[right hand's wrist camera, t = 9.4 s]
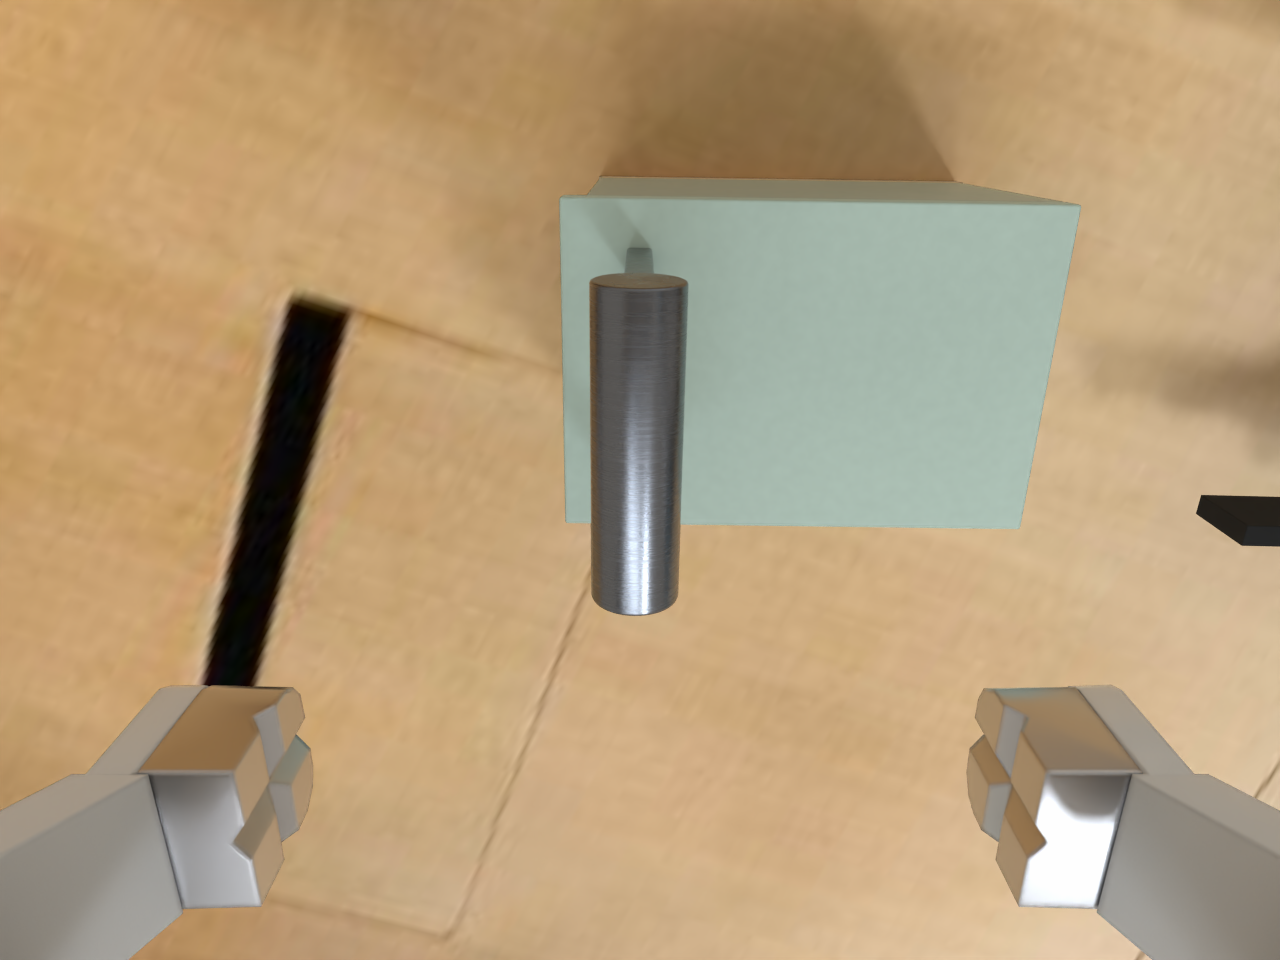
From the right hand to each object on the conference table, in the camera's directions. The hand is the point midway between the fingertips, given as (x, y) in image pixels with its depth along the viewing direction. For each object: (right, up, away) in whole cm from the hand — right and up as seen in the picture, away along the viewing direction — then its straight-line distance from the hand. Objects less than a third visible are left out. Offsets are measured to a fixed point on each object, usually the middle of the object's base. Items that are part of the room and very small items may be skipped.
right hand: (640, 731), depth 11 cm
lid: (+5, +6, +16) cm, 18 cm away
